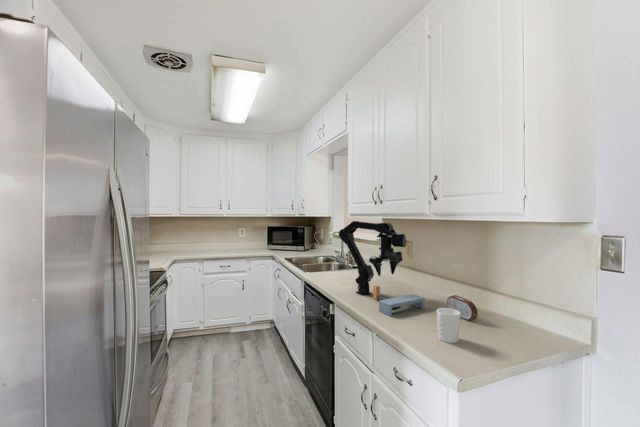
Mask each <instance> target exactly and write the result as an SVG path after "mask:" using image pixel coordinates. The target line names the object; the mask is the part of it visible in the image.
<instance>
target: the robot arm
mask: <svg viewBox="0 0 640 427" xmlns="http://www.w3.org/2000/svg"><path fill="white" fill-rule="evenodd" d="M357 229H360V230H361V229H362V230H371V231H374V232H377V233H379V234H378V235H376V238H380V247H378V250H380V254H379V255H378V256H375V255H374V256H370V257H369V260H368V262H369V263H371V264H372V265H373V267H374V269H375V271H376V273H377V275H378V277H380V276H381V274H382V272H381V271H382V270H381V268H382V265H383V263H382V262H386V261H389V267H390V272H391V275H394V274H395V271H396V268H397V266H398V265H399V264H401V262H403V254H402V251H395V250H394V248H393V247H396V248H406V247H407V243H408V242H407V238H406V234H405V233H399V234H398V233H397V232H396V230H395V228H394V226H393V224H392V223H391V222H379V223H378V222H376V223H375V222H367V221H359V220H353V221H351V222H350V223H349V224H347V225H346V226H345V227H344V228H341V229H339V231H338V232H339V233H338V237H339V238H340V239H341V241H342V242H343V243H344V244H345V245H346V246H347V247H348V250H349V252H350V254H351V256H352V258H353V260H354V262H355V264H356V266H357V273H358V277H356V278H355V282H356V284H357V291H355V294H356V293H357V294H359V295H360V296H366V295H371V294H372V292H370V282H371V281H372V279H373V278H374V274H375V273H374V269H373V268H372V265H371V264H367V263H366V261H365V260H364V257H363V255H362V254H361V251H360V250H359V248H358V246H357V244H356V242H355V236H354V233H355V232H356V231H358V230H357ZM392 246H393V247H392Z"/></svg>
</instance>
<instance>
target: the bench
mask: <svg viewBox="0 0 640 427" xmlns="http://www.w3.org/2000/svg"><path fill="white" fill-rule="evenodd" d="M425 300H426V298H425V297H424V296H420V295H418V294H415V293H414V294H413V293H412V294H408V295H402V296H398V297H397V296H396V297H392V298H386V299H385V300H378V312H379V313H381V314H384V315H386V316H387V317H392V316H393V309H392V308H394V307H397V308H400V307H402V306H407V305H411V306H414V307H416V308H419V309H421V310H424V309H425V308H426V306H425V304H426V302H425ZM394 309H395V308H394Z"/></svg>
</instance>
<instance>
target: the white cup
mask: <svg viewBox="0 0 640 427" xmlns="http://www.w3.org/2000/svg"><path fill="white" fill-rule="evenodd" d="M460 314H461V313H460V312H459V311H457V310H455V309H451V308H448V307H440V308H437V309H436V325H437V326H436V327H437V337H438V339H439V341H442V342H444V343H449V344H455V343H458V342H459V339H460V338H459V337H460V331H461V330H460V329H461V328H460V327H461V317H460Z"/></svg>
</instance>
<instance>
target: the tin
mask: <svg viewBox="0 0 640 427" xmlns="http://www.w3.org/2000/svg"><path fill="white" fill-rule="evenodd" d="M446 304H447V308H451V309H455V310H457V311H459V312H460V313H461V314H460V319H463V320H465V321H474V320H476V319H477V318H478V309H477V307H476V305H475V303H474V302H473V301H472V300H470V299H467V298H464V297H462V296H459V295H450V296H448V298H447V300H446Z"/></svg>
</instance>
